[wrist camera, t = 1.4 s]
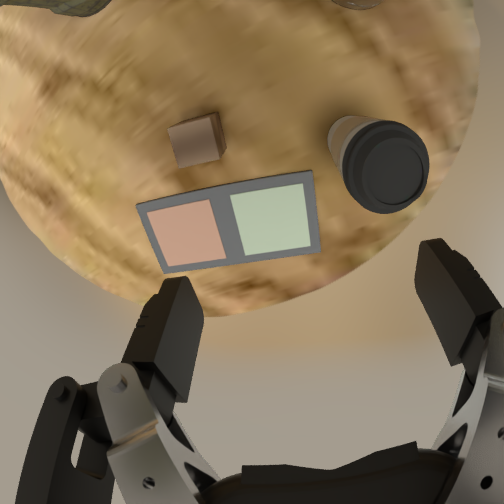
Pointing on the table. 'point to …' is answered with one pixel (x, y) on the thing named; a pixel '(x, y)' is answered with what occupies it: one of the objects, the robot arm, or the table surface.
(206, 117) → the walnut block
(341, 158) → the coffee cup
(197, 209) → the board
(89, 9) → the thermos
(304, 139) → the table surface
